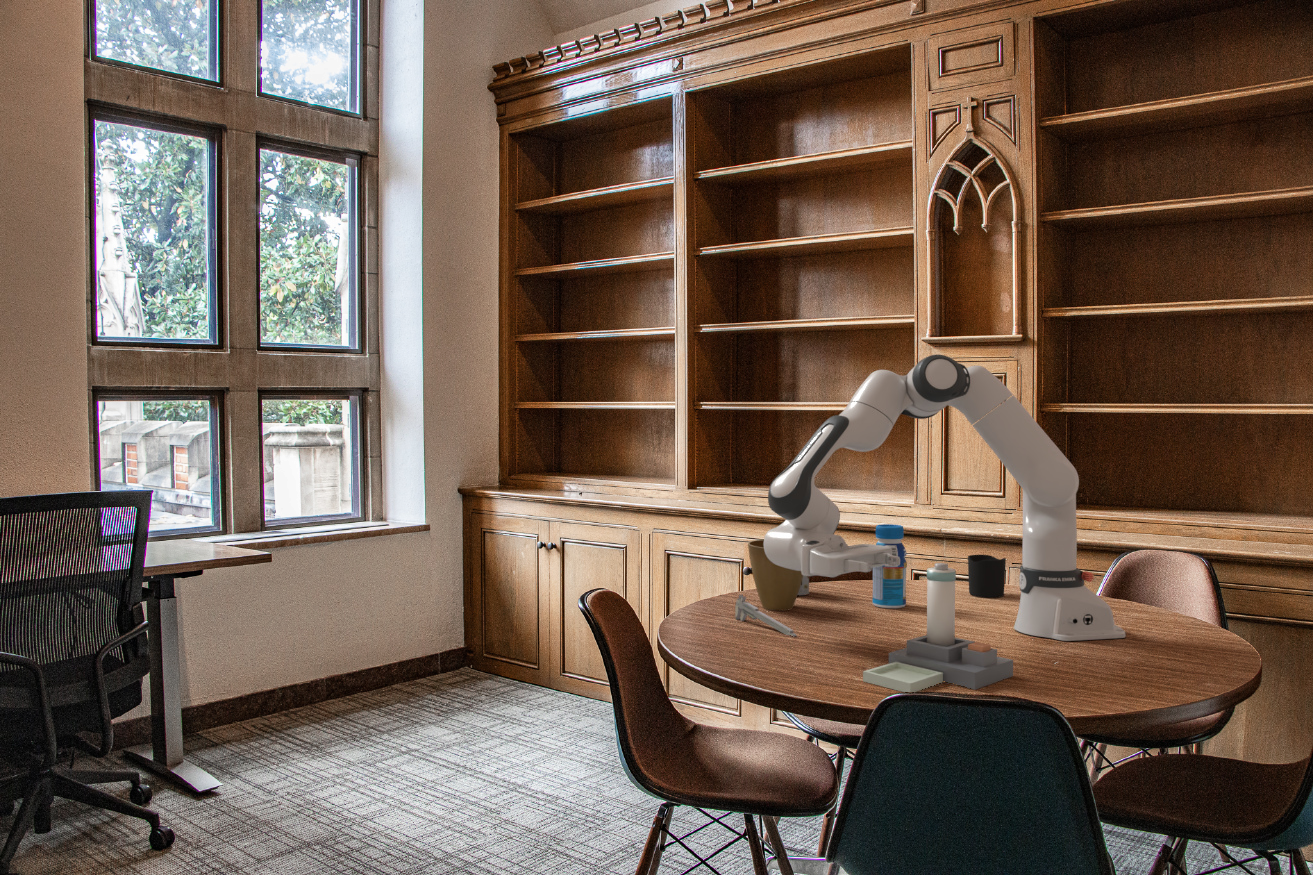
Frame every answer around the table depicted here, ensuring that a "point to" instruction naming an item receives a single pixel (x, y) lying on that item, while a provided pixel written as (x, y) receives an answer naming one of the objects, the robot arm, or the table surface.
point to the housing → (955, 662)
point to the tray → (902, 677)
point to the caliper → (758, 616)
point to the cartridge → (941, 605)
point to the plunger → (979, 647)
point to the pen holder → (986, 576)
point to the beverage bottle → (890, 569)
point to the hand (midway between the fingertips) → (884, 564)
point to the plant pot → (773, 579)
